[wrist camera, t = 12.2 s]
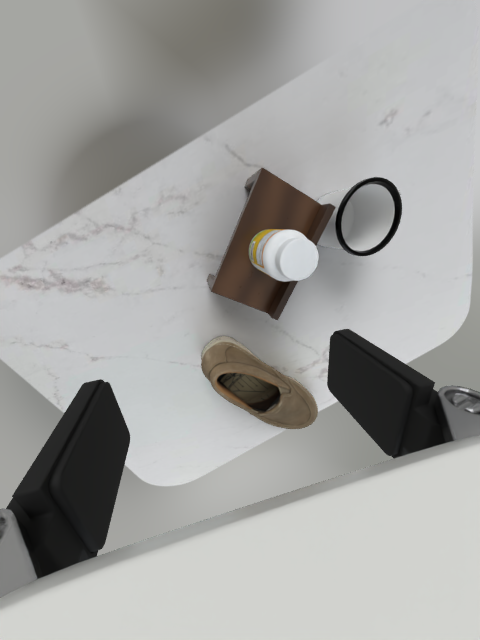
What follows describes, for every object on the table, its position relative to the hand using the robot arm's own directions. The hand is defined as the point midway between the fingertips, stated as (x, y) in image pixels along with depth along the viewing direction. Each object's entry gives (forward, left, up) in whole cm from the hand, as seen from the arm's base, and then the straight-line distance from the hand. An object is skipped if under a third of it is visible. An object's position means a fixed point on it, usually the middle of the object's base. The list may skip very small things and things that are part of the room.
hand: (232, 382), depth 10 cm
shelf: (+7, +7, -30) cm, 31 cm away
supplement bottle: (+7, +7, -23) cm, 25 cm away
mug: (+18, +17, -30) cm, 38 cm away
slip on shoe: (+20, -16, -30) cm, 39 cm away
